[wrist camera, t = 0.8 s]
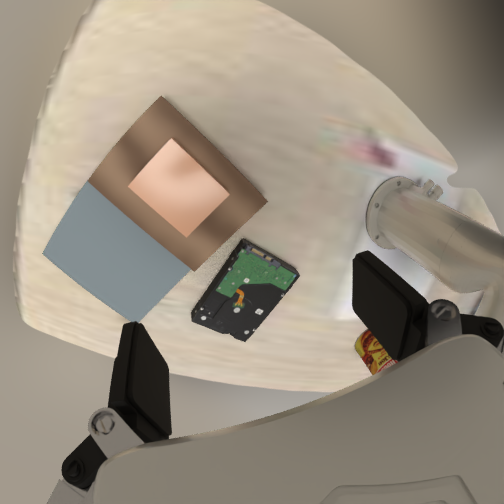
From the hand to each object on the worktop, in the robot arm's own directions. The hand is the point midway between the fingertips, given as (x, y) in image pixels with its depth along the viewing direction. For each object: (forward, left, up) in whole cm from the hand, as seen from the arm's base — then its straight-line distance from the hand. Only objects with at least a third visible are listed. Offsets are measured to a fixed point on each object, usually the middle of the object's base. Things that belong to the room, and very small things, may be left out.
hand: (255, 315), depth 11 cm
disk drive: (+8, +15, -27) cm, 32 cm away
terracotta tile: (+2, -3, -23) cm, 23 cm away
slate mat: (+17, -3, -26) cm, 31 cm away
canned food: (-1, +47, -26) cm, 54 cm away
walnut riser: (+3, -3, -26) cm, 26 cm away
